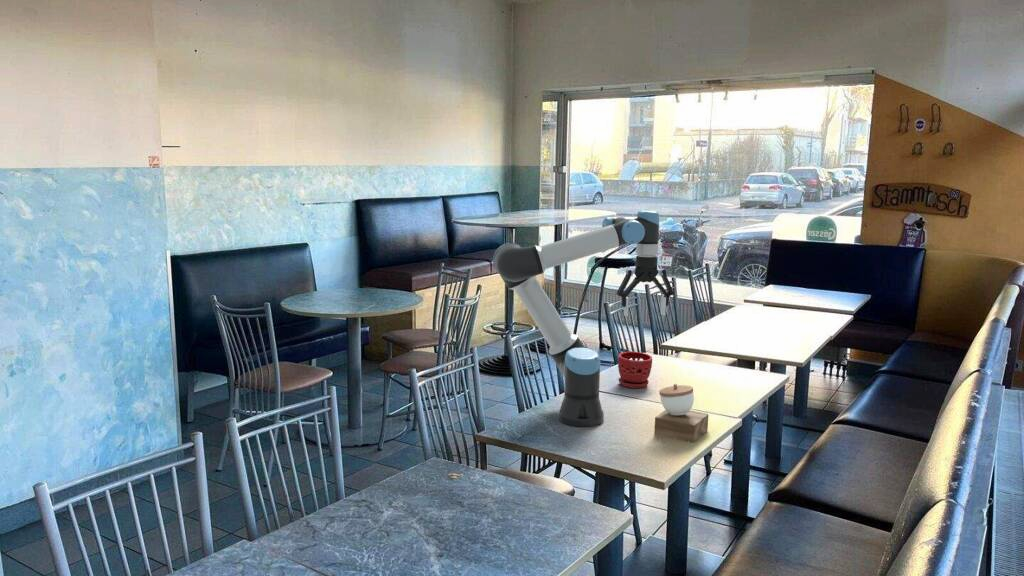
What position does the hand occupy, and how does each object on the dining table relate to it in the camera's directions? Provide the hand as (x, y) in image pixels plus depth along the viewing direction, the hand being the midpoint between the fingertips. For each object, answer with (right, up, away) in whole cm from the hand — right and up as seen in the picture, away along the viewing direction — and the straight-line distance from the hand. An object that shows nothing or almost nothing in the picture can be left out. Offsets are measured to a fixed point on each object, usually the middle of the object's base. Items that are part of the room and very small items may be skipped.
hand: (644, 315), depth 257 cm
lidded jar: (+7, -31, -22) cm, 39 cm away
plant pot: (+1, -29, +28) cm, 40 cm away
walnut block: (+8, -37, -22) cm, 44 cm away
